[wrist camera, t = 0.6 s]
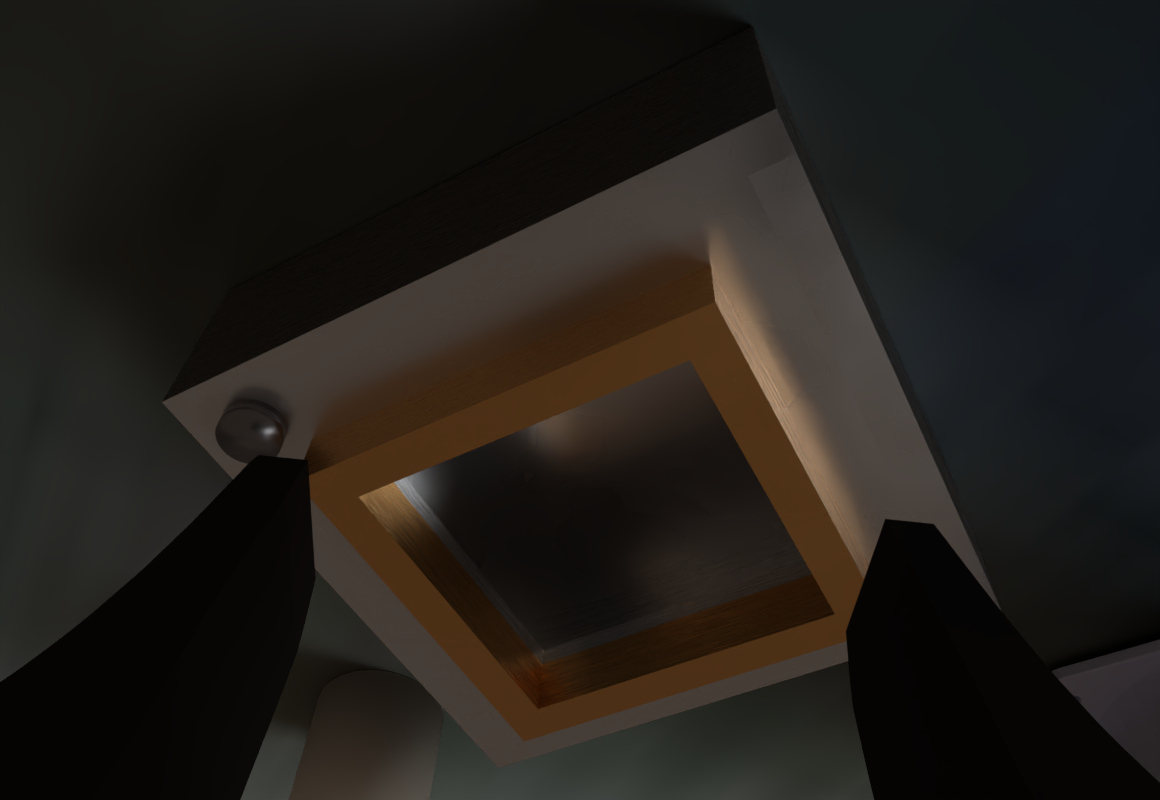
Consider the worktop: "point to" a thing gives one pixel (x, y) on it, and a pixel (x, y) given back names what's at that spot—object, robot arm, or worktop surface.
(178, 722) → the robot arm
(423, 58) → the worktop surface
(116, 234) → the worktop surface
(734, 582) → the housing
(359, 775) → the canister
